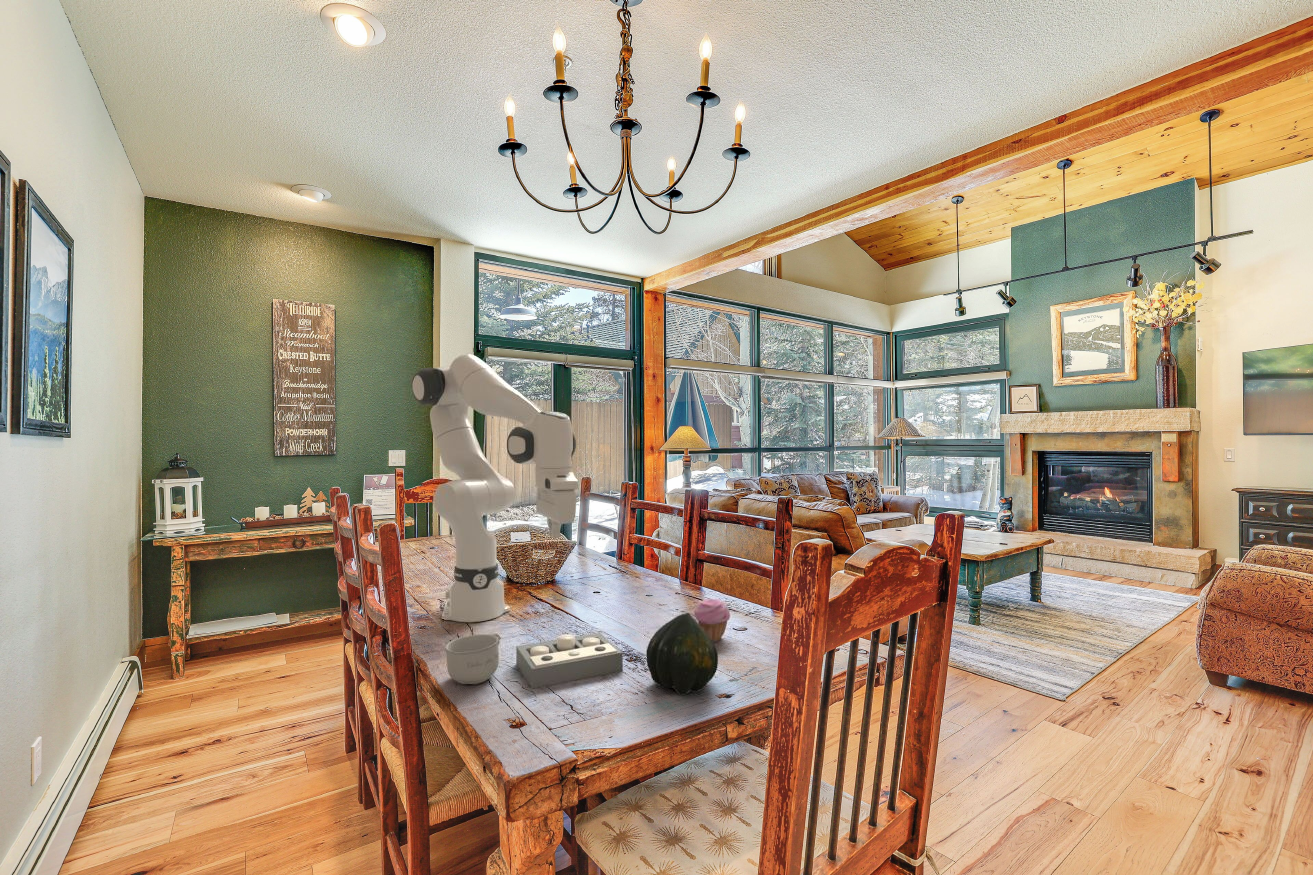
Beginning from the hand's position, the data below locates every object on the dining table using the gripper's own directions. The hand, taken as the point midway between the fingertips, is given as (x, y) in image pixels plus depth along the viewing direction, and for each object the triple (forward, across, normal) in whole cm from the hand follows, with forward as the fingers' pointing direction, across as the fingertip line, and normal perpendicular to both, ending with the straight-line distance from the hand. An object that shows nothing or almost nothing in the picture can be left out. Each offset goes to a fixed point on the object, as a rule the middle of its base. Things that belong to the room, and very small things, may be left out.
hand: (554, 537), depth 140 cm
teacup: (+27, +7, -19) cm, 34 cm away
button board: (+27, +11, 0) cm, 29 cm away
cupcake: (+27, +10, +38) cm, 48 cm away
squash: (+27, +30, +18) cm, 44 cm away
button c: (+26, +9, +6) cm, 28 cm away
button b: (+24, +9, 0) cm, 26 cm away
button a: (+26, +9, -6) cm, 28 cm away
